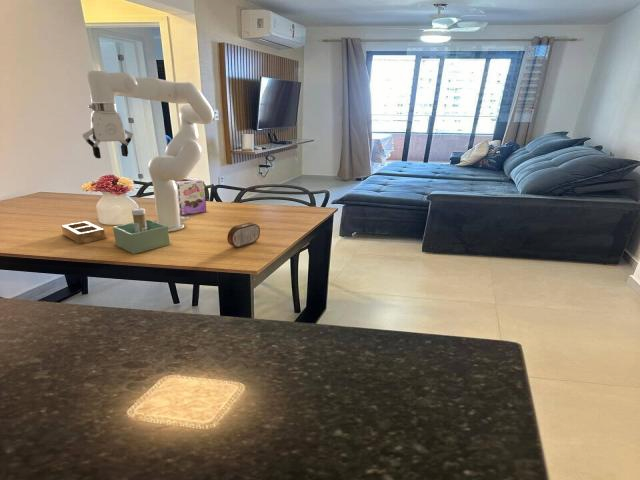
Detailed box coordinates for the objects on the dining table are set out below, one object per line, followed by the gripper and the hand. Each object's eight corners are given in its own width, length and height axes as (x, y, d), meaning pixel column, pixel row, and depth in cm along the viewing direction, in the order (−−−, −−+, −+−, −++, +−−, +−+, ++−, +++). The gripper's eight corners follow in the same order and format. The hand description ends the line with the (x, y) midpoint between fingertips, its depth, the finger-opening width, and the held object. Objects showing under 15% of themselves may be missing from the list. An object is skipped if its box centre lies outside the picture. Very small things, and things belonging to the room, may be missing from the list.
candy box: (180, 216, 191) (177, 183, 185) (176, 213, 195) (173, 181, 190) (206, 212, 199) (204, 180, 194) (202, 209, 203) (199, 179, 198)
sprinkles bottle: (150, 243, 148) (145, 209, 144) (137, 245, 146) (132, 211, 142) (147, 239, 152) (143, 207, 148) (135, 241, 150) (130, 208, 145)
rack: (87, 229, 166) (86, 221, 164) (105, 238, 155) (104, 229, 154) (63, 234, 159) (61, 225, 157) (80, 244, 148) (78, 234, 147)
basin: (151, 236, 159) (148, 219, 157) (169, 244, 150) (167, 226, 148) (115, 245, 148) (112, 226, 146) (133, 253, 140) (131, 234, 137)
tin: (256, 239, 159) (256, 220, 156) (261, 241, 157) (261, 221, 154) (227, 248, 148) (226, 227, 145) (232, 250, 146) (231, 229, 143)
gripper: (82, 108, 128) (91, 159, 133) (133, 109, 141) (139, 156, 146) (73, 107, 132) (82, 158, 138) (124, 109, 145) (130, 154, 150)
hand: (111, 157), depth 142 cm, fingers open, 9 cm apart
